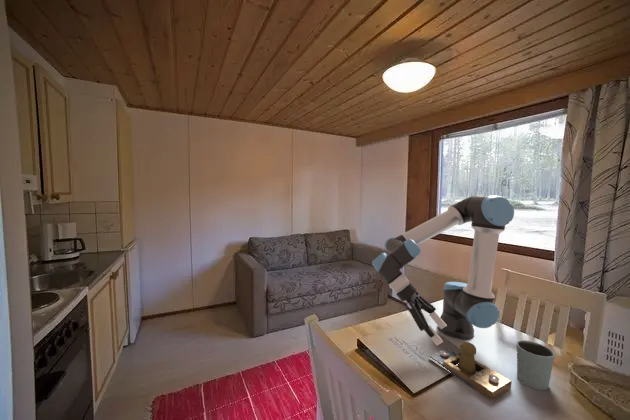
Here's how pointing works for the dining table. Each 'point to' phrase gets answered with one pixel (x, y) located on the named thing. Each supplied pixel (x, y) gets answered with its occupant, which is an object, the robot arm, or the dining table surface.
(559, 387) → the dining table surface
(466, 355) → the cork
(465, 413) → the dining table surface
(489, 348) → the dining table surface
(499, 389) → the slotted wooden plate
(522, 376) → the grey green cup
